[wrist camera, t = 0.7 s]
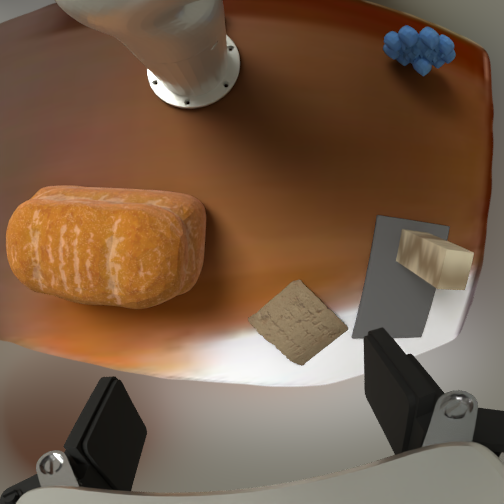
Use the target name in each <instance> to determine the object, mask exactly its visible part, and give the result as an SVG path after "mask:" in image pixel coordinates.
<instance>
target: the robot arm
mask: <svg viewBox="0 0 504 504" xmlns="http://www.w3.org/2000/svg"><path fill="white" fill-rule="evenodd" d="M55 1H56V3H57V4H58V5H59V6H60V7H61V8H62V9H63V10H64V11H65V12H66V13H67V14H68V15H70V16H71V17H72V18H74V19H75V20H77V21H78V22H80V23H82V24H84V25H86V26H87V27H90V28H92V29H94V30H97V31H100V32H102V33H105V34H108V35H111V36H113V37H115V38H116V39H118V40H119V41H120V42H121V43H123V44H124V45H125V46H126V47H127V48H128V49H129V50H130V51H131V52H132V53H133V54H134V55H135V56H136V57H137V58H138V59H139V60H140V61H141V62H142V63H143V64H144V65H145V66H146V67H147V75H148V81H149V83H150V86H151V88H152V89H153V91H154V92H155V94H156V95H157V96H158V97H159V98H160V99H162V100H163V101H164V102H166V103H168V104H170V105H172V106H175V107H178V108H184V109H195V108H201V107H205V106H208V105H211V104H213V103H215V102H217V101H218V100H220V99H221V98H223V97H224V96H225V95H226V94H227V93H228V92H229V91H230V90H231V88H232V87H233V86H234V84H235V82H236V80H237V78H238V75H239V70H240V56H239V52H238V49H237V47H236V45H235V44H234V42H233V41H232V40H231V39H230V38H229V37H228V36H227V35H226V28H225V17H224V7H223V2H222V0H55ZM229 49H232V51H229ZM157 82H158V84H157V85H155V83H157ZM224 85H228V87H224ZM187 102H190V104H189V105H187ZM364 374H365V395H366V398H367V400H368V402H369V404H370V406H371V408H372V409H373V412H374V414H375V416H376V418H377V420H378V422H379V424H380V425H381V427H382V429H383V431H384V433H385V435H386V437H387V439H388V441H389V443H390V445H391V447H392V449H393V451H394V453H395V455H393V456H390V457H387V458H384V459H380V460H377V461H374V462H371V463H367V464H364V465H361V466H357V467H353V468H350V469H346V470H342V471H338V472H334V473H331V474H326V475H322V476H318V477H313V478H308V479H304V480H299V481H293V482H288V483H282V484H276V485H269V486H262V487H255V488H247V489H237V490H226V491H212V492H188V493H155V492H133V491H131V489H132V485H133V481H134V478H135V474H136V470H137V467H138V463H139V459H140V456H141V452H142V449H143V445H144V442H145V438H146V435H147V430H146V427H145V425H144V423H143V421H142V419H141V418H140V416H139V414H138V412H137V410H136V408H135V407H134V405H133V403H132V401H131V399H130V397H129V395H128V393H127V391H126V389H125V387H124V385H123V383H122V382H121V380H118V379H117V378H116V377H102V378H101V379H100V380H99V382H98V384H97V386H96V387H95V389H94V391H93V393H92V394H91V396H90V398H89V400H88V402H87V403H86V405H85V407H84V409H83V411H82V412H81V414H80V416H79V418H78V420H77V422H76V423H75V425H74V427H73V429H72V431H71V433H70V435H69V437H68V439H67V440H66V443H65V444H64V448H65V449H66V451H65V453H63V452H61V451H51V452H48V453H46V454H44V455H43V456H42V457H41V458H40V459H39V460H38V462H37V465H36V471H37V474H36V475H34V476H32V477H30V478H28V479H26V480H24V481H22V482H20V483H18V484H16V485H14V486H12V487H9V488H8V489H6V490H5V491H4V492H3V494H2V495H1V498H0V504H504V411H500V410H491V409H483V408H478V402H477V400H476V398H475V397H474V396H473V395H472V394H470V393H468V392H465V391H460V390H458V391H450V392H447V393H444V392H443V391H442V390H441V389H440V387H439V386H438V385H437V384H436V382H435V381H434V380H433V379H432V377H431V376H430V375H429V374H428V373H427V372H426V370H425V369H424V368H423V367H422V365H421V364H420V363H419V362H418V361H417V359H416V358H415V357H414V356H413V355H412V354H407V355H406V354H405V353H404V351H403V350H402V349H401V348H400V347H399V345H398V344H397V343H396V342H395V341H394V339H393V338H392V337H391V336H390V335H389V333H388V332H387V331H386V330H385V329H384V328H383V327H381V328H378V329H374V330H371V331H369V332H368V335H367V336H364Z"/></svg>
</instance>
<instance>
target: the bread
mask: <svg viewBox="0 0 504 504" xmlns="http://www.w3.org/2000/svg"><path fill="white" fill-rule="evenodd" d="M205 233H206V211H205V207H204V205H203V204H202V202H200V201H199V200H198V199H197V198H195V197H192V196H190V195H188V194H183V193H177V192H171V191H160V190H141V189H125V188H98V187H83V186H48V187H44V188H42V189H40V190H39V191H38V192H37V193H36V194H35V195H34V196H33V197H32V198H31V199H30V200H27V201H25V202H24V203H22V204H21V205H19V206H18V208H17V209H16V210H15V212H14V213H13V215H12V217H11V219H10V220H9V224H8V228H7V232H6V250H7V257H8V261H9V264H10V267H11V269H12V271H13V273H14V275H15V276H16V277H17V278H18V279H19V280H20V281H21V283H23V284H24V285H25V286H27V287H28V288H29V289H31V290H33V291H34V292H38V293H44V294H49V295H54V296H57V297H59V298H62V299H65V300H68V301H72V302H76V303H81V304H87V305H113V306H120V307H125V308H131V309H144V308H149V307H152V306H156V305H159V304H161V303H163V302H165V301H168V300H170V299H172V298H174V297H175V296H177V295H181V294H184V293H185V292H187V291H189V290H190V289H191V288H192V287H193V286H194V285H195V284H196V282H197V280H198V277H199V275H200V273H201V269H202V266H203V261H204V251H205Z"/></svg>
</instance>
